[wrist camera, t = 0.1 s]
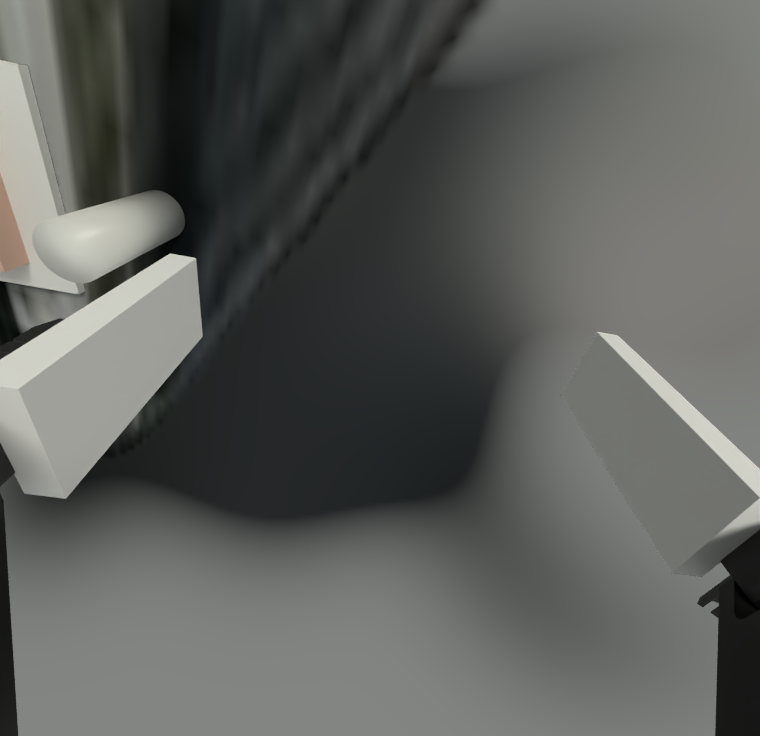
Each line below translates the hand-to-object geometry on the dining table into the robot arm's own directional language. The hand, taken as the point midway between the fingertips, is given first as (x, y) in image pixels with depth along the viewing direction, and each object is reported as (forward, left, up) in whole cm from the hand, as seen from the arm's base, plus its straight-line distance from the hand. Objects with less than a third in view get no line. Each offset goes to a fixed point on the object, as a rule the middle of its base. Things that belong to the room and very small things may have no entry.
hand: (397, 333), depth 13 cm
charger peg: (+6, -22, -28) cm, 36 cm away
